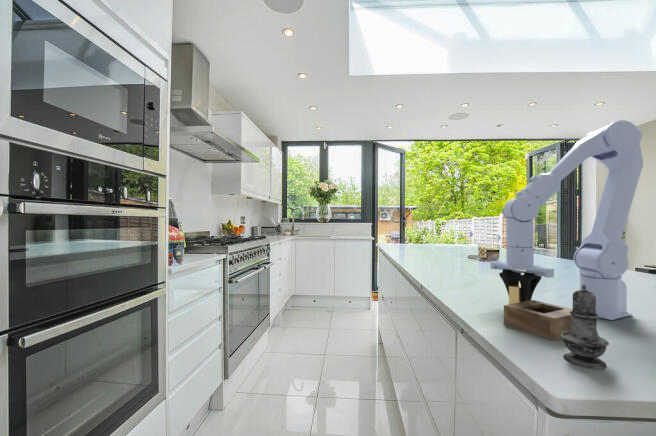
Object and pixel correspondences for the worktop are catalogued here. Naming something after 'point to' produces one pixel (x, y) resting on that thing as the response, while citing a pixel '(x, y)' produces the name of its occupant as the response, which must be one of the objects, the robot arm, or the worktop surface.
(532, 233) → the robot arm
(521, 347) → the worktop surface
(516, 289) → the block
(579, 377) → the worktop surface
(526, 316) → the walnut box
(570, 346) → the salt shaker
